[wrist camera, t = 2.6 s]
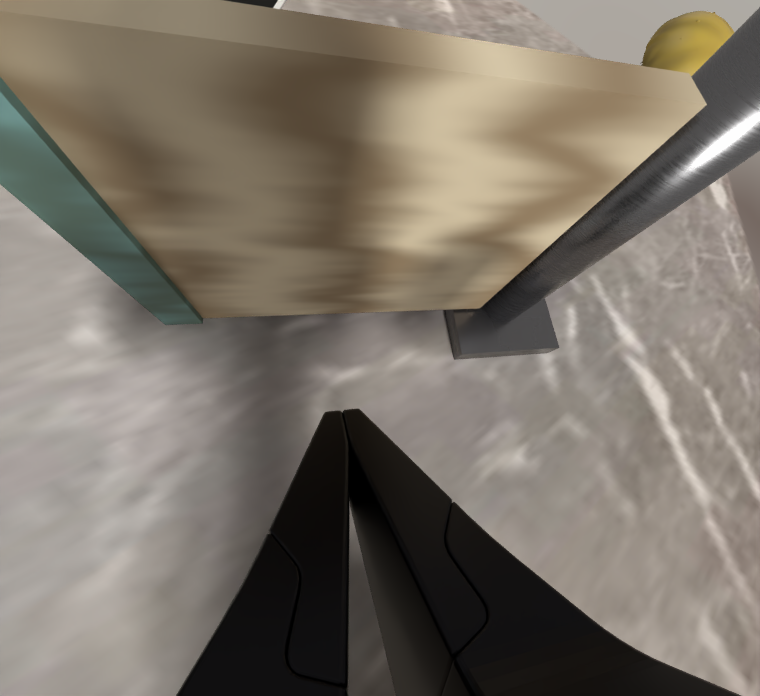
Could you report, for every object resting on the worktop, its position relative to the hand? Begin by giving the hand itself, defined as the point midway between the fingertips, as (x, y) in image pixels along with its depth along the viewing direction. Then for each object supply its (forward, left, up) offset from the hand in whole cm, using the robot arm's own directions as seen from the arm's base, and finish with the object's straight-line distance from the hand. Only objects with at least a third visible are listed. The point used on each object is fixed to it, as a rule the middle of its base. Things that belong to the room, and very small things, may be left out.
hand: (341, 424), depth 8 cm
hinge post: (-1, -14, -11) cm, 18 cm away
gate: (+6, -5, -9) cm, 12 cm away
